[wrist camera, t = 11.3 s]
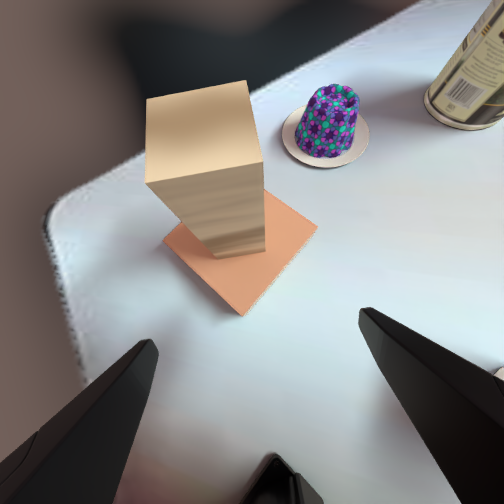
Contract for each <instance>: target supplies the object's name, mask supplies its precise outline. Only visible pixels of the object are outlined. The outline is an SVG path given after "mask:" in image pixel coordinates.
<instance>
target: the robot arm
mask: <svg viewBox="0 0 504 504" xmlns="http://www.w3.org/2000/svg"><path fill="white" fill-rule="evenodd" d="M358 324H359V328H360V330H361V332H362V334H363V336H364V338H365V341H366V343H367V345H368V347H369V349H370V351H371V353H372V355H373V357H374V359H375V361H376V363H377V365H378V367H379V369H380V370H381V372H382V374H383V375H384V377H385V379H386V380H387V382H388V384H389V385H390V387H391V388H392V390H393V392H394V393H395V395H396V397H397V398H398V400H399V402H400V403H401V405H402V407H403V408H404V410H405V411H406V413H407V415H408V416H409V418H410V420H411V421H412V423H413V425H414V426H415V428H416V430H417V431H418V433H419V434H420V436H421V438H422V439H423V441H424V443H425V444H426V446H427V448H428V449H429V451H430V453H431V454H432V456H433V457H434V459H435V461H436V462H437V464H438V466H439V467H440V469H441V471H442V472H443V474H444V476H445V477H446V479H447V481H448V482H449V484H450V485H451V487H452V489H453V490H454V492H455V494H456V495H457V497H458V499H459V500H460V502H461V504H504V380H502V379H500V378H498V377H496V376H494V375H491V374H490V373H489V372H487V371H485V370H484V369H482V368H480V367H478V366H476V365H475V364H473V363H471V362H469V361H467V360H466V359H464V358H462V357H460V356H458V355H457V354H455V353H453V352H451V351H449V350H448V349H446V348H444V347H442V346H440V345H439V344H437V343H435V342H433V341H431V340H430V339H428V338H426V337H424V336H422V335H421V334H419V333H417V332H415V331H413V330H412V329H410V328H408V327H406V326H404V325H403V324H401V323H399V322H397V321H395V320H394V319H392V318H390V317H388V316H386V315H385V314H383V313H381V312H379V311H377V310H376V309H374V308H371V307H366V308H361V309H360V311H359V321H358ZM158 356H159V352H158V349H157V348H156V346H155V344H154V342H153V341H152V340H151V339H144V340H141V341H139V342H138V343H137V344H136V345H135V346H133V347H132V348H131V349H130V350H129V351H128V352H127V353H125V354H124V355H123V356H122V357H121V358H120V359H119V360H117V361H116V362H115V363H114V364H113V365H112V366H111V367H109V368H108V369H107V370H106V371H105V372H104V373H103V374H101V375H100V376H99V377H98V378H97V379H96V380H95V381H93V382H92V383H91V384H90V385H89V386H88V387H87V388H85V389H84V390H83V391H82V392H81V393H80V394H79V395H78V396H77V397H75V398H74V399H73V400H72V401H71V402H70V403H68V404H67V405H66V406H65V407H64V408H63V409H62V410H60V411H59V412H58V413H57V414H56V415H55V416H54V417H52V418H51V419H50V420H49V421H48V422H47V423H46V424H45V425H43V426H42V427H41V428H40V429H39V431H37V432H35V433H34V434H33V435H32V436H31V437H30V438H28V439H27V440H26V441H25V442H24V443H23V444H22V445H20V446H19V447H18V448H17V449H16V450H15V451H13V452H12V453H11V454H10V455H9V456H8V457H6V458H5V459H4V460H3V461H2V462H1V463H0V504H112V503H113V500H114V497H115V494H116V491H117V488H118V485H119V482H120V479H121V476H122V473H123V471H124V468H125V465H126V462H127V459H128V456H129V453H130V450H131V447H132V444H133V441H134V438H135V435H136V432H137V429H138V426H139V423H140V420H141V417H142V415H143V412H144V409H145V406H146V403H147V400H148V396H149V393H150V389H151V385H152V381H153V377H154V373H155V369H156V365H157V361H158ZM275 461H278V462H279V464H278V465H275V463H274V462H275ZM239 504H324V502H323V499H322V498H321V497H320V496H319V495H318V493H317V492H316V491H315V490H314V489H313V488H312V487H311V486H310V484H309V483H308V482H307V481H306V480H305V479H304V478H303V477H302V476H301V474H300V473H295V472H294V471H293V470H292V469H291V468H290V467H289V465H288V464H287V463H286V462H285V461H284V460H283V459H282V458H281V456H279V455H278V454H275V455H273V456H272V458H271V459H270V460H269V462H268V463H267V465H266V466H265V468H264V469H263V470H262V472H261V473H260V475H259V476H258V478H257V479H256V480H255V482H254V483H253V485H252V486H251V488H250V489H249V490H248V492H247V493H246V495H245V496H244V498H243V499H242V500H241V502H240V503H239Z"/></svg>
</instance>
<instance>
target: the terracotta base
mask: <svg viewBox="0 0 504 504" xmlns="http://www.w3.org/2000/svg"><path fill="white" fill-rule="evenodd" d="M264 212H265V249H266V252H261V253H255V254H249V255H243V256H237V257H231V258H225V259H219V260H218V259H217V258H216V257H215V256H214V255H213V254H212V253H211V252H210V251H209V249H208V248H207V247H206V246H205V245H204V244H203V243H202V242H201V241H200V240H199V239H198V238H197V237H196V236H195V235H194V234H193V233H192V232H191V231H190V230H189V229H188V228H187V227H186V226H185V224H184V223H183V222H181V223H180V224H179V225H178V226H177V227H176V228H175V229H174V230H173V231H172V232H171V233H170V234H169V235H167V236H166V237H165V238H164V239H163V240H162V241H163V242H164V243H165V244H166V245H167V246H169V247H170V248H171V249H172V250H173V251H174V252H175V253H176V254H177V255H178V256H179V257H180V258H181V259H182V260H183V261H184V262H185V263H186V264H187V265H188V266H190V267H191V268H192V269H193V270H194V271H195V272H196V273H197V274H198V275H199V276H200V277H201V278H202V279H203V280H204V281H205V282H206V283H207V284H208V285H210V286H211V287H212V288H213V289H214V290H215V291H216V292H217V293H218V294H219V295H220V296H221V297H222V298H223V299H224V300H225V301H226V302H227V303H228V304H229V305H231V306H232V307H233V308H234V309H235V310H236V311H237V312H238V313H239V314H240V315H241V316H242V317H243V316H246V315H247V314H248V313H249V311H250V310H251V309H252V308H253V307H254V305H255V304H256V303H257V302H258V301H259V299H260V298H261V297H262V296H263V295H264V294H265V292H266V291H267V290H268V289H269V288H270V286H271V285H272V284H273V283H274V282H275V280H276V279H277V278H278V277H279V276H280V275H281V273H282V272H283V271H284V270H285V269H286V267H287V266H288V265H289V264H290V263H291V261H292V260H293V259H294V258H295V257H296V256H297V254H298V253H299V252H300V251H301V250H302V248H303V247H304V246H305V245H306V244H307V242H308V241H309V240H310V239H311V238H312V236H313V235H314V233H315V231H316V230H317V228H318V226H316V225H315V224H314V223H312V222H311V221H309V220H308V219H306V218H305V217H304V216H302V215H301V214H299V213H298V212H296V211H295V210H294V209H292V208H291V207H289V206H288V205H286V204H285V203H283V202H282V201H281V200H279V199H278V198H276V197H275V196H273V195H272V194H271V193H269V192H268V191H266V190H265V189H264Z"/></svg>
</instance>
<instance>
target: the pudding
mask: <svg viewBox="0 0 504 504" xmlns="http://www.w3.org/2000/svg"><path fill="white" fill-rule="evenodd" d="M359 104H360V102H359V97H358V95H357V94H356V93H354V92H353V90H352V89H351V88H350V87H348V86H340V85H339V84H331V85H329V86H328V87H325V86H324V87H321V88H319V89H318V90H317V91H316V92H315V93H314V95H313V96H312V97H311V98H310V100H309V102H308V104H307V105H304V106H302V107H300V108H298V109H297V110H295V111H294V112H293V113H291V115H290V116H289V117H288V118H287V119H286V121H285V123H284V125H283V129H282V139H283V142H284V145H285V147H286V148H287V150H288V151H289V152H290V153H291V154H292V155H293V156H294V157H295V158H296V159H298V160H300V161H302V162H303V163H306V164H309V165H312V166H317V167H326V168H327V167H337V166H342V165H345V164H347V163H350V162H352V161H353V160H355V159H357V158H358V157H359V156H360V155H361V154H362V153H363V152H364V150H365V149H366V147H367V145H368V142H369V129H368V126H367V124H366V122H365V120H364V119H363V117H362V116H361V115H360V114H359V113H358V112H359ZM297 126H298V127H297ZM296 127H297V129H296ZM295 130H296V131H295ZM294 134H295V136H296V137H297V138H298V142H297V144H298V146H297V144H296V142H295V137H294ZM353 136H354V142H353V145H352V147H351V144H352V141H353ZM350 147H351V148H350ZM349 148H350V149H349ZM300 149H302V150H306V151H308V153H309V154H310V155H311V156H309V155H307V154H305V153H304V152H303V151H301V150H300ZM348 149H349V150H348ZM343 150H348V151H347V152H346V153H345V154H343V155H341V156H339V155H340V153H341V151H343ZM312 156H313V157H312ZM323 156H327V157H329V158H331V159H319V158H320V157H323ZM337 156H338V157H337ZM314 157H318V158H314ZM332 157H336V158H332Z"/></svg>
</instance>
